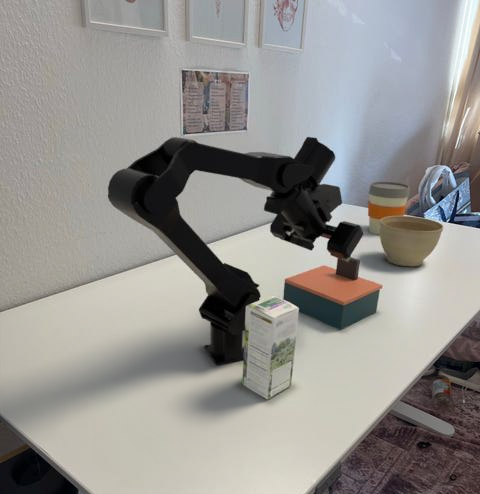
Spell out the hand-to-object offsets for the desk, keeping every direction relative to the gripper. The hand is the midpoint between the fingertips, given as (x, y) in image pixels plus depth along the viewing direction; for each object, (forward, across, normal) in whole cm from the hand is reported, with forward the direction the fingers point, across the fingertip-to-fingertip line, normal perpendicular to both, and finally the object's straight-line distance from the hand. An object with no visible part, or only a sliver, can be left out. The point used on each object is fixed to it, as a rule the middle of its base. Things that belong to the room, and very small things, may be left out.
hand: (330, 254), depth 97 cm
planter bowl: (+39, +6, -21) cm, 45 cm away
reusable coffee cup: (+54, +26, -36) cm, 70 cm away
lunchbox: (+10, 0, +8) cm, 13 cm away
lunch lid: (+7, 0, +4) cm, 8 cm away
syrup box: (-12, -12, +30) cm, 34 cm away
